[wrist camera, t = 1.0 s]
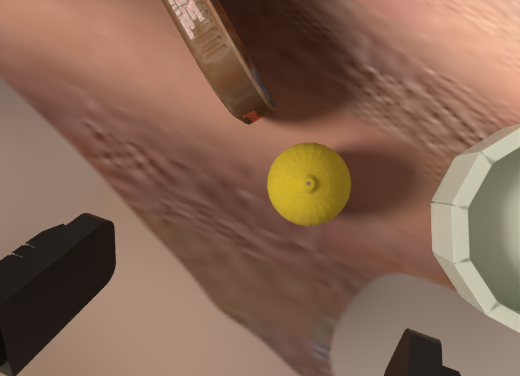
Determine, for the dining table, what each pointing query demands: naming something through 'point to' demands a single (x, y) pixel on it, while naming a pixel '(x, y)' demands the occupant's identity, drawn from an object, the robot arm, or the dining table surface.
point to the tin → (222, 57)
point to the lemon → (309, 184)
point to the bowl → (482, 225)
